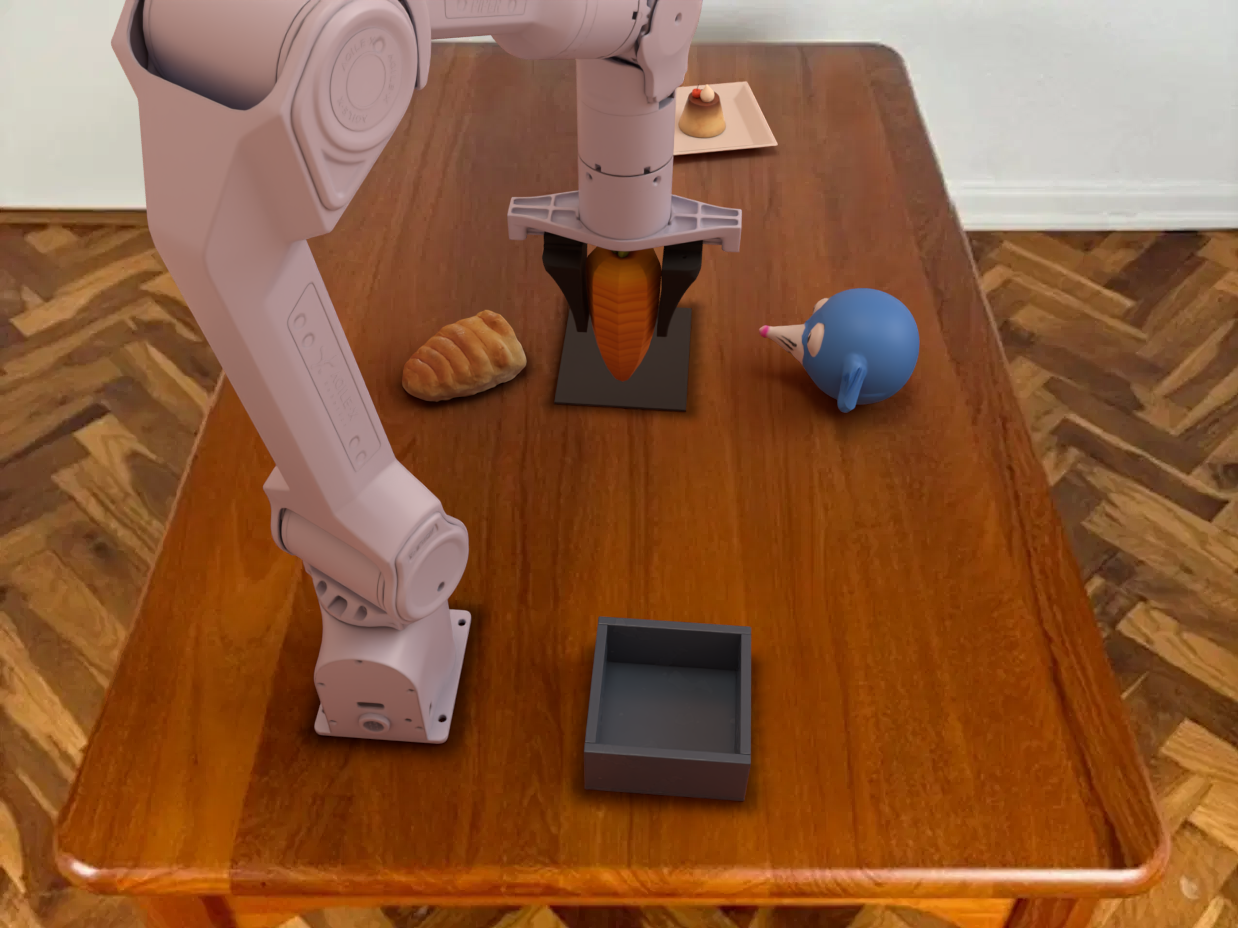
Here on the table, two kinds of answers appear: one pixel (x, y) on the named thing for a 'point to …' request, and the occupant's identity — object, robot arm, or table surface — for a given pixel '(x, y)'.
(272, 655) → the table surface
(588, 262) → the carrot
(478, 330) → the pastry
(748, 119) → the dessert
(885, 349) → the blue mole toy
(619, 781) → the bin
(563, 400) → the mat
